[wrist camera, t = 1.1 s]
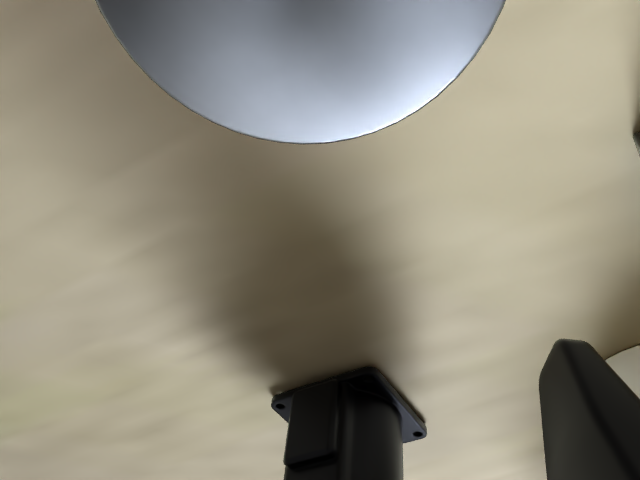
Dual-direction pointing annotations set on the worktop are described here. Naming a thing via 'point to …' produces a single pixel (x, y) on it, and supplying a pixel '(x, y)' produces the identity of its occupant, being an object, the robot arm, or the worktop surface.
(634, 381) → the pill bottle
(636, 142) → the golden brown bar
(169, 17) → the tin can
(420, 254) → the worktop surface
